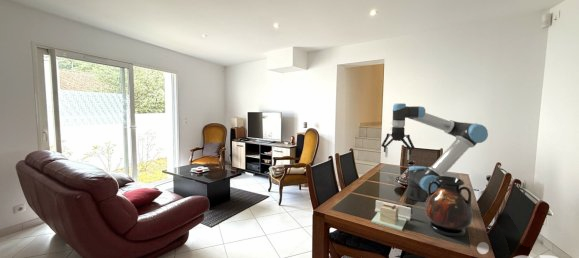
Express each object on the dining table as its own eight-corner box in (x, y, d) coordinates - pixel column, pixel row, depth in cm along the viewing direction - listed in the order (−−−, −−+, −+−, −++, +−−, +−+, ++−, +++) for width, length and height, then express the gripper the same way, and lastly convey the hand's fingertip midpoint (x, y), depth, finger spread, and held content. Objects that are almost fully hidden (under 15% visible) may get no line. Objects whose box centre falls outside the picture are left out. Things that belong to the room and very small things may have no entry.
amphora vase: (473, 228, 127) (477, 178, 124) (469, 246, 111) (473, 189, 108) (428, 216, 141) (430, 171, 139) (418, 230, 125) (421, 179, 123)
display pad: (378, 213, 145) (378, 211, 145) (406, 220, 136) (406, 219, 136) (371, 222, 134) (371, 220, 134) (401, 231, 125) (401, 229, 125)
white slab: (376, 209, 150) (376, 200, 150) (410, 218, 139) (411, 208, 138) (374, 211, 148) (375, 201, 147) (409, 220, 136) (410, 209, 136)
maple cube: (383, 215, 140) (384, 202, 140) (398, 219, 136) (398, 205, 135) (380, 220, 134) (380, 206, 133) (394, 224, 129) (395, 210, 129)
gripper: (377, 126, 159) (376, 156, 161) (418, 128, 144) (417, 161, 146) (380, 125, 165) (379, 155, 167) (420, 127, 150) (418, 159, 152)
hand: (396, 158), depth 156 cm, fingers open, 13 cm apart
